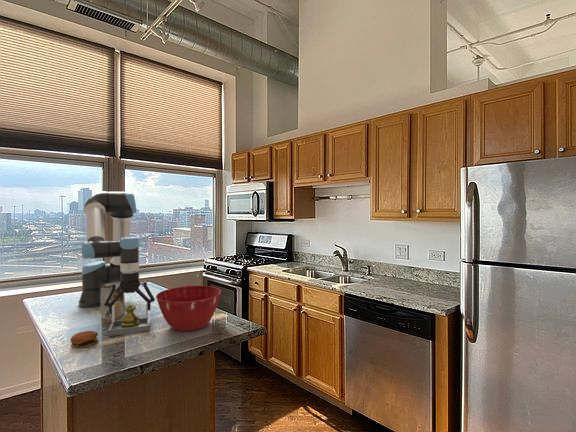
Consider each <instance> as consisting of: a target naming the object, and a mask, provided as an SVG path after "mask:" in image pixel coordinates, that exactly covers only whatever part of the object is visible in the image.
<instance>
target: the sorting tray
mask: <svg viewBox="0 0 576 432" xmlns="http://www.w3.org/2000/svg"><path fill="white" fill-rule="evenodd" d="M138 321H139V326H134V327H125V328H121V323H122V322H121V319H115V321H114V322H112V321H111V323H110V326H109V327H108V329H107V335H108V337H113V336H120V335H128V334H129V335H130V334H137V333H146V332H150V329H151V328H150V327H151V316H148V318H146V316H143V317H139V320H138Z"/></svg>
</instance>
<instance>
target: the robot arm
mask: <svg viewBox="0 0 576 432" xmlns="http://www.w3.org/2000/svg"><path fill="white" fill-rule="evenodd" d="M136 205H137V204H136V199H135V195H134V193H133V192H127V191H100V192H99V191H98V192H97V193H94V194H92V195H91V196H90V197H89V198H87V200H86V201H85V203H84V206H83V212H84V214H85V217H86V241H84V242H81V257H82V258H83V259H84V260H85V259H86V260H88V259H91V260H92V259H104V258H111V259H110V260H109V262H108V263H107V262H106V261H104V260H102V261H101V260H100V261H94V262H89V263H85V264H84V265H82V268H81V276H82V277H81V285H82V286H81V289H82V290H81V294H80V297H79V300H78V307H81V308H94V307H101V300H100V286H104V285H107V284H110V283H114V284H113V286H112V291H111V292H110V294H109V296H108V298H107V300H106V302H105V304H104V305H105V306H108V307H109V314H112V320H111V323H112V322H114V321H115V320H116V318H115V305H113V304H114V303H115V302H116V301H117V300H118V299H119V297H120V296H121V295H122V294H123V293H124V294H130V293H131V294H134V293H135V292H136V294H138V295H139V296H140V297H141V298H142V299H143V300H144V301H145V317H146V318H148V317H149V311H151V303H153V302H155V299H156V297H154V295H153V293H152V292H151V290H150V288H149V287H148V282H147V281H146V280H144V281H140V272H139V271H140V262H139V261H140V259H139V258H140V257H139V255H140V251H139V249H140V248H139V246H140V242H139V238H138V237H135V236H131V219H132V218H133V217H134V214H136V213H137V206H136ZM105 214H109V216H110V218H111V219H112V220H113V221H112V222H113V224H112V240H106V230H105V220H104V219H105V218H104V215H105ZM116 283H120V284H116ZM140 286H141V287H142V288H144V291H145V292H146V293H147V295H148V296H147V295H146V294H145V293H144V292H143V291H142V290H141V289H140ZM118 287H120V288H121V289H122V290H121V291H120V293H119V294H118V295H117V296H116V297H115V298H114V300H113V301H112V302H111V303H109V301H110V299H111V297H112V295H113V293H114V291H115V289H117V288H118Z"/></svg>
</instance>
